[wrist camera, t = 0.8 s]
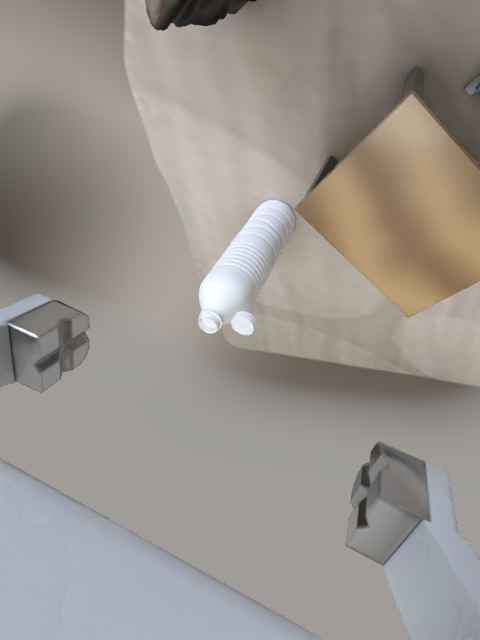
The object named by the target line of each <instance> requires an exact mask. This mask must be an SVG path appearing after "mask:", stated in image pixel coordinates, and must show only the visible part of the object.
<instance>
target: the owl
mask: <svg viewBox="0 0 480 640" xmlns="http://www.w3.org/2000/svg"><path fill="white" fill-rule="evenodd" d="M145 1H146V7H147V14H148V17H149V19H150V23H151V24H152V26H153V27H154V28H155V29H156V30H162V31H163V30H166V29H167V28H168V26H169V25H170V24H171V23H174V24H175V26H176V27H182V26H187V25H189V24H193V25H203V26H209V25H212V24H216V23H217V21H218V20H219V19H224V18H225V16H226V15H227V13H228V14H236V13H237V12H238V11H239V9H241V8H242V7H243V6H244V5H245V4H246V3H247V2H248V1H252V2H254V1H256V0H145Z"/></svg>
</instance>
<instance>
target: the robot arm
mask: <svg viewBox="0 0 480 640" xmlns="http://www.w3.org/2000/svg"><path fill="white" fill-rule="evenodd" d="M89 327H90V326H89V317H88V316H87V315H86V314H85V313H83V312H81V311H79V310H76V309H74V308H72V307H70V306H68V305H66V304H64V303H61V302H59V301H56V300H54V299H52V298H50V297H48V296H46V295H43V294H36V295H33V296H31V297H28V298H26V299H24V300H22V301H19V302H17V303H15V304H13V305H10V306H8V307H6V308H4V309H1V310H0V387H2V386H5V385H8V384H12V383H15V381H16V382H19V383H21V384H23V385H25V386H27V387H29V388H31V389H34V390H36V391H38V392H40V393H42V392H44V391H45V390H46V389H48V388H49V387H51V386H52V385H53V384H55V383H56V382H58V381H59V380H60V379H61V376H62V372H66V371H70V370H74V369H75V368H76V367H78V366H79V365H80V364H81V363H82V362H83V360H84V359H85V357H86V356H87V353H88V350H89V339H88V337H87V335H86V333H85V331H86V330H88V328H89ZM351 504H352V506H353V508H354V511H353V513H352V514H351V516H350V517H349V519H348V528H347V536H346V544H345V546H347V547H349V548H351V549H353V550H355V551H356V552H359V553H360V554H362V555H364V556H366V557H368V558H370V559H372V560H373V561H375V562H377V563H379V564H381V565H383V571H384V573H385V576H386V579H387V581H388V584H389V586H390V589H391V592H392V594H393V597H394V599H395V602H396V605H397V607H398V610H399V612H400V615H401V618H402V620H403V623H404V625H405V628H406V631H407V633H408V636H409V638H410V640H480V558H479V557H478V555H477V554H476V553H475V551H474V550H473V548H472V547H471V545H470V544H469V542H468V541H467V540H466V538H463V537H461V536H459V534H458V528H457V522H456V516H455V511H454V505H453V498H452V493H451V486H450V480H449V474H448V472H447V471H446V469H444V468H441V467H439V466H436V465H434V464H432V463H429V462H427V461H424V460H421V459H418V458H416V457H414V456H411V455H409V454H407V453H404V452H402V451H400V450H398V449H395V448H393V447H390V446H388V445H386V444H384V443H381V442H378V443H377V444H376V445H375V446H374V448H373V449H372V451H371V454H370V462H369V463H366V464H363V466H362V467H361V469H360V471H359V473H358V475H357V477H356V480H355V483H354V486H353V490H352V495H351ZM0 640H325V639H323V638H321V637H319V636H317V635H316V634H314V633H312V632H310V631H309V630H307V629H305V628H303V627H301V626H300V625H298V624H296V623H294V622H293V621H291V620H289V619H287V618H285V617H283V616H282V615H280V614H278V613H276V612H275V611H273V610H271V609H269V608H268V607H266V606H264V605H262V604H260V603H258V602H257V601H255V600H253V599H251V598H250V597H248V596H246V595H244V594H243V593H241V592H239V591H237V590H235V589H234V588H232V587H230V586H228V585H227V584H225V583H223V582H221V581H219V580H218V579H216V578H214V577H212V576H210V575H208V574H206V573H205V572H203V571H202V570H200V569H198V568H196V567H194V566H193V565H191V564H189V563H187V562H185V561H183V560H182V559H180V558H178V557H177V556H175V555H173V554H171V553H169V552H168V551H166V550H164V549H162V548H160V547H158V546H157V545H155V544H153V543H152V542H150V541H148V540H146V539H144V538H142V537H141V536H139V535H137V534H135V533H134V532H132V531H130V530H128V529H127V528H124V527H123V526H121V525H119V524H117V523H116V522H114V521H112V520H110V519H109V518H107V517H105V516H103V515H102V514H100V513H98V512H96V511H94V510H93V509H91V508H89V507H87V506H85V505H84V504H82V503H80V502H78V501H76V500H75V499H73V498H71V497H69V496H67V495H65V494H64V493H62V492H60V491H59V490H57V489H55V488H53V487H51V486H49V485H48V484H46V483H44V482H42V481H41V480H39V479H37V478H35V477H34V476H32V475H30V474H28V473H26V472H25V471H23V470H21V469H19V468H17V467H15V466H14V465H12V464H10V463H9V462H7V461H5V460H3V459H1V458H0Z"/></svg>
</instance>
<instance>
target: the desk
mask: <svg viewBox="0 0 480 640" xmlns="http://www.w3.org/2000/svg"><path fill="white" fill-rule="evenodd" d="M423 84H424V73H423V72H422V71H421V70H420V69H419V68H418V66H417V67H416V68H415V69H414V70H413V71H412V72H411V73H410V74H409V75H408V76H407V80H406V84H405V87H404V91H403V95H402V99H401V102H400V103H399V104H398V105H397V106H396V107H395V108H394V109H393V110H392V111H391V112H390V113H389V114H388V115H387V116H386V117H385V118H384V119H383V120H382V121H381V122H380V123H379V124H378V125H377V126H376V127H375V128H374V129H373V130H372V131H371V132H370V133H369V134H368V135H367V136H366V137H365V138H364V139H363V140H362V141H361V142H360V143H359V144H358V145H357V146H356V147H355V148H354V149H353V150H352V151H351V152H350V153H349V154H348V155H347V156H346V157H345V158H344V159H343V160H342V161H341V162H340V163H339V164H338V165H337V166H336V164H337V161H336V160H335V159H334V158H333V157H332V156H330V157H329V158H328V159H327V160H326V161H325V162H324V164H323V166H322V168H321V169H320V171H319V173H318V175H317V176H316V178H315V180H314V182H313V183H312V185H311V187H310V189H309V190H308V192H307V194H306V195H305V197H304V199H303V200H302V201H301V202H300V203H299V204H298V205H297V206H296V208H295V210H296V211H297V212H298V213H299V214H300V215H301V216H302V217H303V218H304V219H305V220H306V221H307V222H308V223H309V224H310V225H311V226H313V227H314V228H315V229H316V230H317V231H318V232H319V233H320V234H321V235H322V236H323V237H324V238H325V239H326V240H327V241H328V242H329V243H330V244H331V245H333V246H334V247H335V248H336V249H337V250H338V251H339V252H340V253H341V254H342V255H343V256H344V257H345V258H346V259H347V260H348V261H349V262H350V263H351V264H353V265H354V266H355V267H356V268H357V269H358V270H359V271H360V272H361V273H362V274H363V275H364V276H365V277H366V278H367V279H368V280H369V281H370V282H371V283H373V284H374V285H375V286H376V287H377V288H378V289H379V290H380V291H381V292H382V293H383V294H384V295H385V296H386V297H387V298H388V299H389V300H390V301H391V302H393V303H394V304H395V305H396V306H397V307H398V308H399V309H400V310H401V311H402V312H403V313H404V314H405V315H406V316H407V317H410V316H412V315H414V314H416V313H418V312H420V311H422V310H424V309H426V308H427V307H429V306H431V305H433V304H435V303H437V302H439V301H441V300H443V299H445V298H447V297H449V296H451V295H453V294H455V293H457V292H459V291H461V290H463V289H465V288H467V287H469V286H471V285H473V284H474V283H476V282H478V281H480V166H479V165H478V164H477V162H476V161H475V160H474V159H473V158H472V157H471V156H470V155H469V153H468V152H467V151H466V150H465V149H464V148H463V147H462V145H461V144H460V143H459V142H458V141H457V140H456V139H455V137H454V136H453V135H452V134H451V133H450V132H449V131H448V130H447V128H446V127H445V126H444V125H443V124H442V123H441V122H440V120H439V119H438V118H437V117H436V116H435V115H434V114H433V112H432V111H431V110H430V109H429V108H428V107H427V106H426V105H425V103H424V102H423V101H422V94H423ZM335 166H336V167H335Z"/></svg>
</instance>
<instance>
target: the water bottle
mask: <svg viewBox="0 0 480 640" xmlns="http://www.w3.org/2000/svg"><path fill="white" fill-rule="evenodd" d="M294 228H295V216H294V213H293V212H292V210H291V209H290V207H289V206H288V205H286V204H285V203H282V202H281V201H278V200H270V201H265V202H263V203H262V204H260V205H259V206H258V207H257V209H256V210H255V212H254V213H253V215H252V216H251V217H250V218H249V220H248V221H247V222H246V224H245V225H244V227H243V228H242V229H241V230H240V232H239V233H238V234H237V236H236V237H235V239H234V240H233V241H232V242H231V244H230V245H229V247H228V248H227V250H226V251H225V252H224V254H223V255H222V256H221V257H220V259H219V260H218V261H217V263H216V264H215V266H214V267H213V268H212V270H211V271H210V272H209V273H208V275H207V276H206V277H205V278H204V280H203V281H202V283H201V286H200V289H199V301H200V306H201V310H202V312H201V313H200V315H199V320H198V325H199V327H200V328H201V329H202V330H203V331H205V332H207V333H215V332H216V331H217V330H218V329H220V328H221V327H222V325H224V324H228V323H231V325H232V327H233V329H234V330H235V331H236V332H237V333H239V334H242V335H250V334H252V333H253V331H254V329H255V327H256V325H257V322H256V319H255V318H254V316H253V315H251V314H250V313H249V311H250V310H251V308H252V306H253V304H254V302H255V300H256V298H257V296H258V294H259V293H260V291H261V289H262V287H263V285H264V283H265V282H266V280H267V278H268V276H269V274H270V273H271V271H272V269H273V267H274V265H275V264H276V262H277V260H278V258H279V256H280V255H281V253H282V251H283V249H284V247H285V245H286V243H287V242H288V240H289V238H290V236H291V234H292V233H293V231H294ZM250 316H251V317H250ZM253 319H254V320H253Z"/></svg>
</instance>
